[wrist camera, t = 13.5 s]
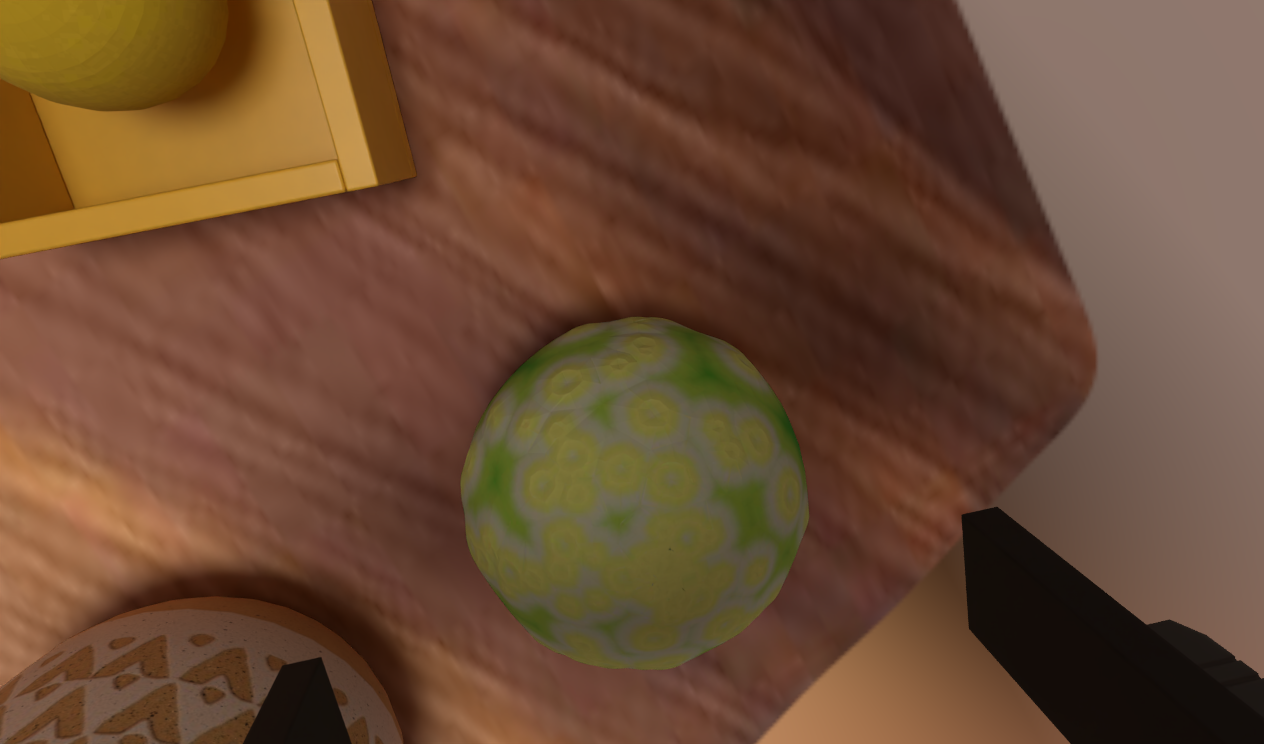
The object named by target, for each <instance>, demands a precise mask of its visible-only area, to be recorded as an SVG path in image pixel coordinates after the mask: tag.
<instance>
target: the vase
mask: <svg viewBox="0 0 1264 744" xmlns="http://www.w3.org/2000/svg"><path fill="white" fill-rule="evenodd" d="M318 657H322V660H323V663H324V666H325V669H326V672H327V675H328V677H329V680H330V683H331V686H332V689H333V692H334V694H335V697H336V700H337V703H338V706H339V709H340V711H341V714H342V717H343V720H344V723H345V726H346V728H347V731H348V734H349V737H350V740H351V743H352V744H404V743H403V737H402V731H401V729H400V726H399V723H398V721H397V718H396V716H395V713H394V711H393V708H392V706H391V703H390V700H389V698H388V695H387V693H386V691H385V690H384V688H383V687H382V685H381V683H380V682H379V680H378V679H377V677H376V676H375V674H374V673H373V671H372V670H371V668H370V667H369V666H368V664H367V663H366V661H365V660H364V659H363V658H362V657H361V656H360V655H359V654H358V653H357V652H356V651H355V650H354V649H353V648H352V647H351V646H350V645H349V644H348V643H347V642H346V641H345V640H343V639H342V638H341V637H340V636H339V635H337V634H336V633H334V632H333V631H331V630H330V629H328V628H327V627H325V626H324V625H322V624H321V623H319V622H318V621H316V620H314V619H312V618H310V617H308V616H305V615H303V614H301V613H299V612H296V611H294V610H292V609H289V608H287V607H283V606H279V605H276V604H272V603H268V602H264V601H260V600H256V599H245V598H233V597H220V596H212V597H199V598H186V599H177V600H170V601H166V602H162V603H159V604H155V605H151V606H147V607H143V608H139V609H135V610H132V611H129V612H126V613H122V614H119V615H117V616H115V617H113V618H111V619H108V620H106V621H104V622H102V623H100V624H98V625H95V626H93V627H91V628H89V629H87V630H84V631H82V632H80V633H79V634H77V635H75V636H73V637H71V638H69V639H67V640H65V641H64V642H63V643H61V644H60V645H58V646H57V647H56V648H54V649H53V650H51V651H50V652H49V653H47V654H46V655H44V656H43V657H42V658H40V659H39V660H37V661H36V662H35V663H33V664H32V665H31V666H29V667H28V668H26V669H25V670H24V671H22V672H21V673H20V674H18V675H17V676H16V677H14V678H13V679H12V680H10V681H9V682H8V683H6V684H5V685H3V686H2V687H1V688H0V744H243V742H244V740H245V738H246V736H247V734H248V732H249V730H250V728H251V726H252V724H253V722H254V720H255V718H256V716H257V714H258V712H259V710H260V708H261V706H262V704H263V702H264V700H265V698H266V696H267V694H268V692H269V691H270V689H271V687H272V685H273V683H274V681H275V679H276V677H277V675H278V673H279V671H280V669H281V667H282V665H287V664H291V663H296V662H300V661H305V660H309V659H314V658H318Z"/></svg>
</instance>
